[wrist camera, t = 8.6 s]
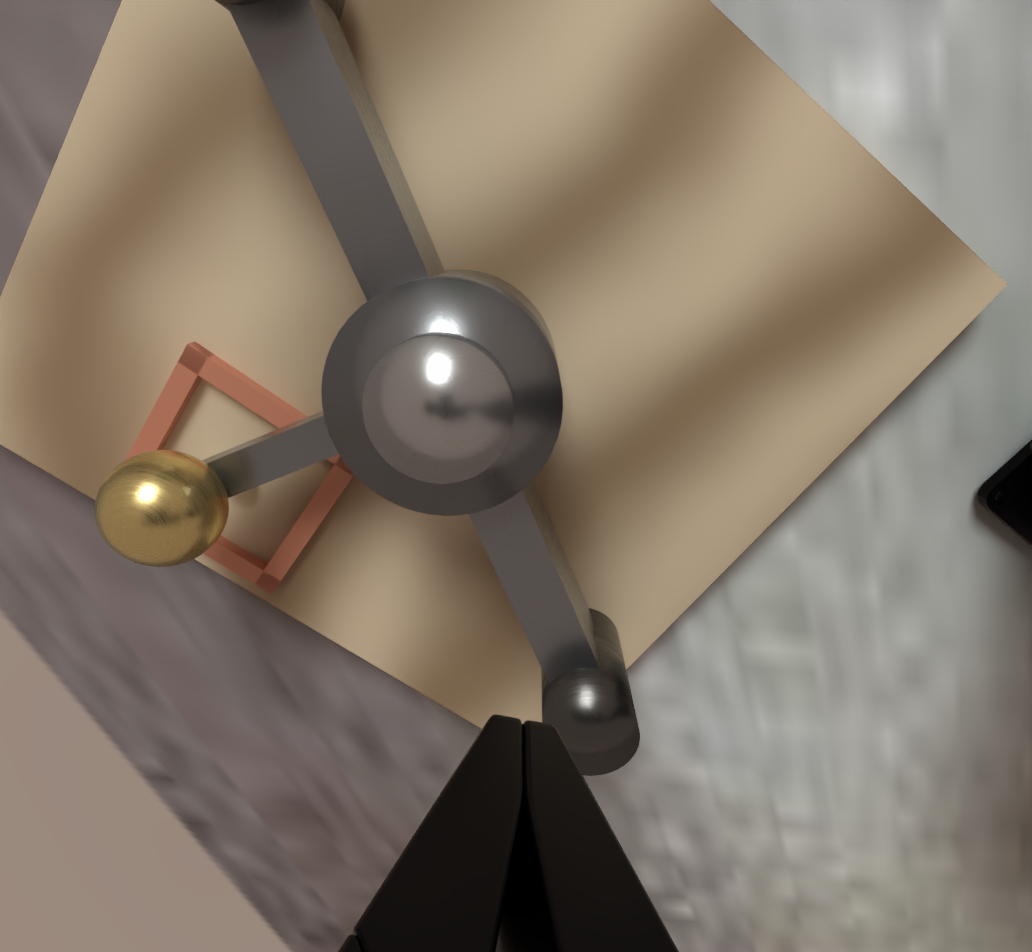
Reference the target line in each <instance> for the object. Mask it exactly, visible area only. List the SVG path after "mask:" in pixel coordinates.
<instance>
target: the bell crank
mask: <svg viewBox="0 0 1032 952" xmlns="http://www.w3.org/2000/svg"><path fill="white" fill-rule="evenodd" d="M215 1H216V2H217V3H219V4H220V5H222V6H223V7H224V8H226V9H227V10H228V11H230V13H231V15H232V17H233V19H234V21H235V23H236V25H237V27H238V29H239V32H240V34H241V36H242V38H243V40H244V42H245V44H246V46H247V48H248V50H249V53H250V55H251V57H252V59H253V61H254V63H255V65H256V67H257V69H258V72H259V74H260V76H261V78H262V80H263V82H264V84H265V86H266V88H267V91H268V93H269V95H270V97H271V99H272V101H273V103H274V105H275V107H276V110H277V112H278V114H279V116H280V118H281V120H282V122H283V124H284V126H285V128H286V131H287V133H288V135H289V137H290V139H291V141H292V143H293V145H294V147H295V150H296V152H297V154H298V156H299V158H300V160H301V162H302V164H303V166H304V169H305V171H306V173H307V175H308V177H309V179H310V181H311V183H312V185H313V188H314V190H315V192H316V194H317V196H318V198H319V200H320V202H321V204H322V206H323V209H324V211H325V213H326V215H327V217H328V219H329V221H330V223H331V225H332V228H333V230H334V232H335V234H336V236H337V238H338V240H339V242H340V244H341V247H342V249H343V251H344V253H345V255H346V257H347V259H348V261H349V263H350V266H351V268H352V270H353V272H354V274H355V276H356V278H357V280H358V282H359V284H360V287H361V289H362V291H363V293H364V295H365V297H366V299H367V302H366V303H365V304H363V305H362V306H360V307H359V308H358V309H357V310H356V311H355V312H354V313H353V314H352V315H351V316H350V317H349V318H348V320H347V321H346V322H345V324H344V325H343V326H342V328H341V329H340V330H339V332H338V334H337V336H336V337H335V339H334V341H333V343H332V345H331V347H330V350H329V353H328V355H327V358H326V362H325V366H324V370H323V376H322V387H321V394H322V408H323V411H320V412H318V413H316V414H313V415H311V416H308V417H306V418H303V419H301V420H299V421H296V422H294V423H291V424H289V425H286V426H284V427H282V428H279V429H277V430H274V431H272V432H269V433H267V434H265V435H262V436H260V437H257V438H255V439H252V440H250V441H247V442H245V443H243V444H240V445H238V446H235V447H233V448H230V449H228V450H226V451H223V452H221V453H218V454H216V455H213V456H211V457H209V458H206V459H204V460H200V459H198V458H197V457H194V456H192V455H190V454H187V453H183V452H179V451H174V450H154V451H148V452H144V453H140V454H138V455H135V456H133V457H130V458H129V459H127V460H125V461H123V462H122V463H120V464H119V465H118V466H116V467H115V468H114V469H113V470H112V471H111V472H110V473H109V474H108V475H107V477H106V478H105V480H104V481H103V483H102V485H101V486H100V489H99V491H98V494H97V498H96V502H95V517H96V523H97V526H98V528H99V531H100V533H101V535H102V536H103V538H104V540H105V541H106V542H107V543H108V545H109V546H110V547H111V548H112V549H113V550H114V551H116V552H117V553H118V554H120V555H121V556H123V557H125V558H127V559H128V560H131V561H133V562H135V563H139V564H142V565H147V566H155V567H165V566H174V565H178V564H182V563H185V562H188V561H190V560H193V559H195V558H197V557H198V556H200V555H202V554H203V553H204V552H206V551H207V550H208V549H209V548H210V547H212V546H213V544H214V543H215V542H216V541H217V540H218V538H219V537H220V535H221V534H222V532H223V530H224V528H225V525H226V523H227V519H228V514H229V500H228V498H230V497H232V496H235V495H237V494H240V493H242V492H245V491H247V490H250V489H252V488H255V487H257V486H260V485H262V484H265V483H267V482H270V481H272V480H275V479H278V478H280V477H283V476H285V475H288V474H290V473H293V472H295V471H298V470H300V469H303V468H305V467H308V466H310V465H313V464H315V463H318V462H320V461H323V460H325V459H328V458H330V457H333V456H335V455H338V454H339V455H340V456H341V458H342V459H343V461H344V462H345V464H346V465H347V466H348V467H349V469H350V470H351V471H352V472H353V474H354V475H355V476H356V477H357V478H358V479H359V480H361V481H362V482H363V483H364V484H365V485H366V486H367V487H369V488H370V489H371V490H372V491H374V492H375V493H376V494H378V495H380V496H381V497H383V498H385V499H386V500H388V501H390V502H392V503H394V504H396V505H399V506H401V507H403V508H406V509H409V510H413V511H416V512H420V513H425V514H430V515H442V516H454V515H465V514H469V516H470V519H471V521H472V523H473V525H474V527H475V529H476V531H477V533H478V535H479V537H480V540H481V542H482V544H483V546H484V548H485V550H486V552H487V554H488V556H489V559H490V561H491V563H492V565H493V567H494V569H495V571H496V573H497V575H498V578H499V580H500V582H501V584H502V586H503V588H504V590H505V592H506V594H507V597H508V599H509V601H510V603H511V605H512V607H513V609H514V611H515V613H516V615H517V618H518V620H519V622H520V624H521V626H522V628H523V630H524V632H525V634H526V637H527V639H528V641H529V643H530V645H531V647H532V649H533V651H534V653H535V656H536V658H537V660H538V662H539V664H540V666H541V685H542V723H548V724H552V725H554V726H555V727H556V728H557V730H558V732H559V734H560V736H561V737H562V739H563V741H564V743H565V745H566V747H567V748H568V750H569V752H570V754H571V756H572V757H573V759H574V761H575V763H576V765H577V767H578V768H579V770H580V772H581V774H582V775H588V776H592V775H602V774H606V773H609V772H612V771H615V770H617V769H619V768H620V767H622V766H623V765H625V764H626V763H627V762H628V761H629V760H630V759H631V758H632V757H633V756H634V754H635V752H636V751H637V748H638V746H639V741H640V733H639V728H638V723H637V718H636V714H635V709H634V704H633V700H632V695H631V690H630V686H629V681H628V676H627V672H626V667H625V663H624V658H623V653H622V649H621V644H620V639H619V635H618V631H617V628H616V626H615V625H614V623H613V622H612V621H611V619H610V618H609V617H607V616H606V615H605V614H603V613H601V612H599V611H597V610H594V609H591V608H588V606H587V604H586V602H585V599H584V597H583V595H582V592H581V590H580V588H579V585H578V583H577V580H576V578H575V576H574V573H573V571H572V569H571V566H570V564H569V562H568V559H567V557H566V555H565V552H564V550H563V548H562V545H561V543H560V541H559V538H558V536H557V533H556V531H555V529H554V526H553V524H552V522H551V519H550V517H549V515H548V512H547V510H546V508H545V505H544V503H543V501H542V498H541V496H540V494H539V491H538V489H537V486H536V484H535V482H534V478H535V477H536V476H537V475H538V473H539V472H540V471H541V469H542V468H543V467H544V465H545V464H546V462H547V460H548V458H549V457H550V455H551V453H552V451H553V449H554V446H555V443H556V441H557V438H558V435H559V431H560V426H561V422H562V412H563V393H562V386H561V380H560V374H559V369H558V364H557V359H556V354H555V349H554V344H553V340H552V337H551V334H550V331H549V329H548V327H547V325H546V322H545V320H544V319H543V317H542V316H541V314H540V312H539V311H538V309H537V308H536V307H535V306H534V305H533V303H532V302H531V301H530V300H529V299H528V298H527V297H526V296H525V295H524V294H523V293H522V292H521V291H519V290H518V289H517V288H515V287H514V286H512V285H511V284H510V283H508V282H506V281H504V280H502V279H500V278H498V277H495V276H493V275H490V274H487V273H484V272H479V271H474V270H464V269H454V270H444V268H443V266H442V263H441V261H440V258H439V256H438V254H437V251H436V249H435V247H434V244H433V242H432V240H431V237H430V235H429V233H428V230H427V228H426V226H425V223H424V221H423V219H422V216H421V214H420V211H419V209H418V207H417V204H416V202H415V200H414V197H413V195H412V193H411V190H410V188H409V186H408V183H407V181H406V179H405V176H404V174H403V172H402V169H401V167H400V164H399V162H398V160H397V157H396V155H395V153H394V150H393V148H392V146H391V143H390V141H389V139H388V136H387V134H386V132H385V129H384V127H383V125H382V122H381V120H380V117H379V115H378V113H377V110H376V108H375V106H374V103H373V101H372V99H371V96H370V94H369V92H368V89H367V87H366V85H365V82H364V80H363V78H362V75H361V73H360V70H359V68H358V66H357V63H356V61H355V59H354V56H353V54H352V52H351V49H350V47H349V45H348V42H347V40H346V38H345V35H344V33H343V31H342V28H341V26H340V23H339V19H340V17H341V15H342V12H343V9H344V4H345V0H215Z"/></svg>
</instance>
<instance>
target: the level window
mask: <svg viewBox="0 0 1032 952" xmlns="http://www.w3.org/2000/svg"><path fill="white" fill-rule="evenodd" d="M202 378H203V379H205V380H206V381H208V382H209V383H211V384H212V385H214V386H215V387H217V388H218V389H220V390H221V391H223V392H224V393H226V394H227V395H229V396H231V397H232V398H234V399H235V400H237V401H238V402H240V403H241V404H243V405H244V406H246V407H247V408H249V409H250V410H252V411H253V412H255V413H256V414H258V415H260V416H261V417H263V418H264V419H266V420H267V421H269V422H270V423H272V424H273V425H275V426H276V427H278V428H282V427H284V426H286V425H289V424H291V423H294V422H296V421H299V420H301V419H303V418H306V417H308V416H306V415H305V414H303V413H302V412H300V411H299V410H297V409H296V408H294V407H293V406H291V405H290V404H288V403H287V402H285V401H284V400H282V399H281V398H279V397H278V396H276V395H275V394H273V393H272V392H270V391H269V390H267V389H266V388H264V387H263V386H261V385H260V384H258V383H257V382H255V381H254V380H252V379H251V378H249V377H248V376H246V375H245V374H243V373H242V372H240V371H239V370H237V369H236V368H234V367H233V366H231V365H230V364H228V363H227V362H225V361H224V360H222V359H221V358H219V357H218V356H216V355H215V354H213V353H212V352H210V351H209V350H207V349H206V348H204V347H203V346H201V345H200V344H198V343H197V342H192V343H188V344H187V345H186V347H185V349H184V351H183V353H182V355H181V357H180V358H179V360H178V362H177V364H176V366H175V368H174V370H173V372H172V373H171V375H170V377H169V379H168V381H167V383H166V385H165V387H164V388H163V390H162V392H161V394H160V396H159V398H158V400H157V402H156V403H155V405H154V407H153V409H152V411H151V413H150V415H149V417H148V418H147V420H146V422H145V424H144V426H143V428H142V430H141V431H140V433H139V435H138V437H137V439H136V441H135V443H134V445H133V446H132V448H131V450H130V452H129V454H128V456H127V458H126V460H127V459H129V458H130V457H133V456H135V455H138V454H140V453H144V452H148V451H154V450H162V449H163V447H164V445H165V444H166V442H167V440H168V438H169V436H170V435H171V433H172V431H173V429H174V427H175V426H176V424H177V422H178V420H179V418H180V416H181V415H182V413H183V411H184V409H185V407H186V406H187V404H188V402H189V400H190V398H191V397H192V395H193V393H194V391H195V389H196V388H197V386H198V384H199V382H200V380H201V379H202ZM327 460H328V461H330V462H331V463H333V464H334V466H333V468H332V469H331V471H330V472H329V474H328V475H327V477H326V478H325V480H324V481H323V483H322V484H321V486H320V487H319V489H318V490H317V492H316V493H315V495H314V496H313V498H312V499H311V501H310V502H309V504H308V505H307V507H306V508H305V510H304V511H303V513H302V514H301V516H300V517H299V519H298V520H297V521H296V523H295V524H294V526H293V527H292V529H291V530H290V532H289V533H288V535H287V536H286V538H285V539H284V541H283V542H282V544H281V545H280V547H279V548H278V550H277V551H276V553H275V554H274V556H273V557H272V559H271V560H270V562H269V563H268V564H267V563H266V562H264V561H263V560H261V559H259V558H258V557H256V556H254V555H253V554H251V553H249V552H248V551H246V550H244V549H243V548H241V547H239V546H238V545H236V544H234V543H233V542H231V541H229V540H228V539H226V538H224V537H223V536H221V535H220V537H219V538H218V540H217V541H216V542H215V543H214V544H213V546H212V547H210V548H209V549H208V550H207V551H206V552H204V553H203V554H204V555H206V556H208V557H209V558H211V559H213V560H214V561H216V562H218V563H219V564H221V565H223V566H224V567H226V568H228V569H229V570H231V571H233V572H234V573H236V574H238V575H240V576H241V577H243V578H245V579H246V580H248V581H250V582H251V583H253V584H255V585H256V586H258V587H260V588H261V589H263V590H265V591H266V592H268V593H270V594H271V595H272V593H273V592H274V590H275V589H276V588H277V586H278V585H279V583H280V582H281V580H282V579H283V578H284V576H285V575H286V573H287V572H288V570H289V569H290V567H291V566H292V564H293V563H294V562H295V560H296V559H297V557H298V556H299V554H300V553H301V551H302V550H303V548H304V547H305V546H306V544H307V543H308V541H309V540H310V538H311V537H312V535H313V534H314V532H315V531H316V530H317V528H318V527H319V525H320V524H321V522H322V521H323V519H324V518H325V516H326V515H327V514H328V512H329V511H330V509H331V508H332V506H333V505H334V503H335V502H336V500H337V499H338V498H339V496H340V495H341V493H342V492H343V490H344V489H345V487H346V486H347V485H348V483H349V482H350V480H351V479H352V477H353V476H354V474H353V472H352V471H351V470H350V469H349V467H348V466H347V465H346V464H345V462H344V461H343V459H342V458H341V456H340V455H339V454H338V455H335V456H333V457H330V458H328V459H327ZM242 493H244V492H242ZM242 493H240V494H242ZM237 495H238V494H237Z"/></svg>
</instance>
